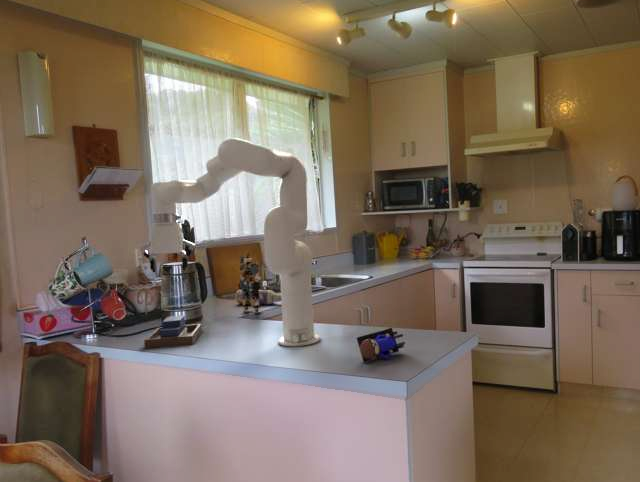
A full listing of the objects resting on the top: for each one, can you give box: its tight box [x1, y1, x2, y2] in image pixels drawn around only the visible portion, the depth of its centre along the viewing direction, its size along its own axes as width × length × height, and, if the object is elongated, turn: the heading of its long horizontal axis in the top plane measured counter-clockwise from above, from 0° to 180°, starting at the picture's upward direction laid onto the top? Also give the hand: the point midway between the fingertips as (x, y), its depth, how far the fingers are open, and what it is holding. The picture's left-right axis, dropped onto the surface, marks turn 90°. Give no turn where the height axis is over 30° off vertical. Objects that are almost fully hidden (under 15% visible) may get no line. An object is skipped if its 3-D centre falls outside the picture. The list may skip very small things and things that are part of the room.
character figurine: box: [356, 327, 406, 363], centre depth 144 cm, size 8×7×15 cm
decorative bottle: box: [234, 289, 281, 306], centre depth 245 cm, size 26×8×7 cm, turn 68°
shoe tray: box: [143, 323, 203, 350], centre depth 181 cm, size 20×15×3 cm
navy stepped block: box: [160, 314, 187, 338], centre depth 180 cm, size 6×14×6 cm, turn 10°
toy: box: [237, 253, 263, 316], centre depth 222 cm, size 14×9×25 cm, turn 47°
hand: (169, 270), depth 180 cm, fingers open, 9 cm apart
